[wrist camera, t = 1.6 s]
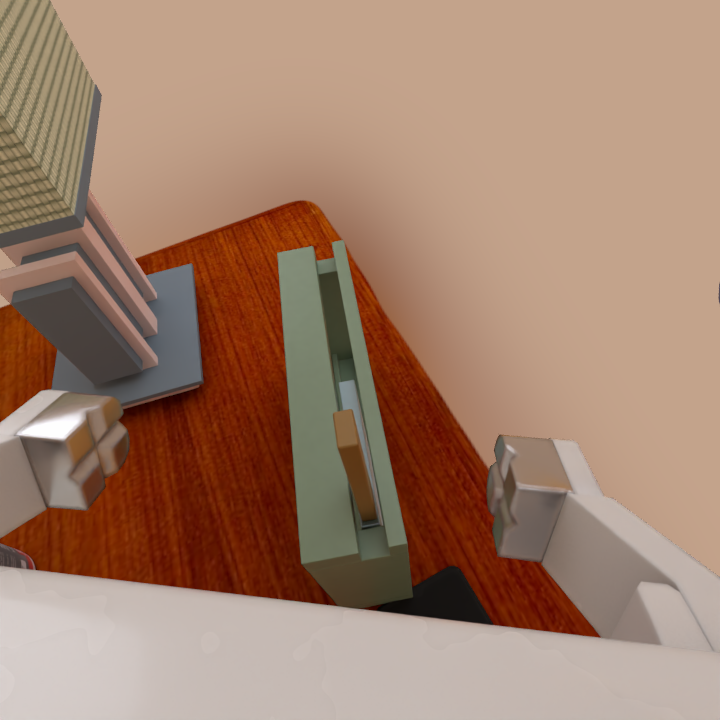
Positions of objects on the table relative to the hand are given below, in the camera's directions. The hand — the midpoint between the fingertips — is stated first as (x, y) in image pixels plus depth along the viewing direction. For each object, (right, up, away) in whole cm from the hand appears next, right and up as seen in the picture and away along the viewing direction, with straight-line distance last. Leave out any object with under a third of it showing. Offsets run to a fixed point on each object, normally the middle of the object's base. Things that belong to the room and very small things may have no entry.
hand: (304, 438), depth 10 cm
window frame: (+1, -7, +29) cm, 30 cm away
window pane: (+2, -9, +25) cm, 27 cm away
